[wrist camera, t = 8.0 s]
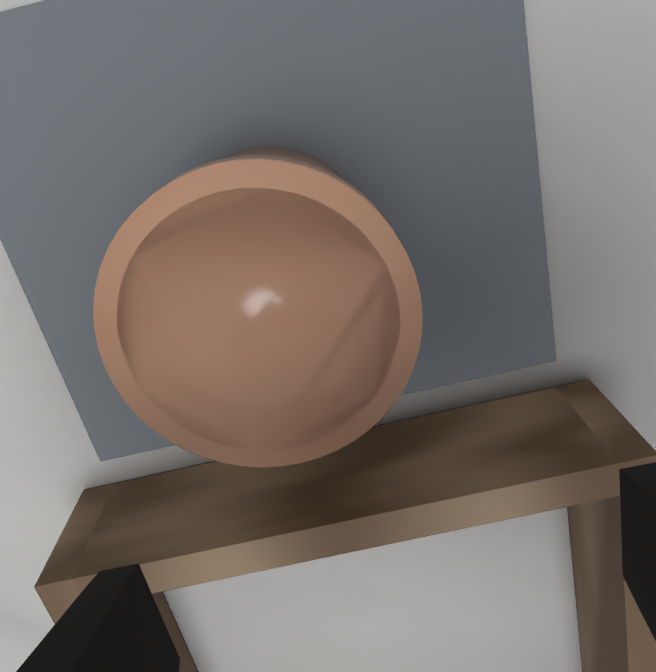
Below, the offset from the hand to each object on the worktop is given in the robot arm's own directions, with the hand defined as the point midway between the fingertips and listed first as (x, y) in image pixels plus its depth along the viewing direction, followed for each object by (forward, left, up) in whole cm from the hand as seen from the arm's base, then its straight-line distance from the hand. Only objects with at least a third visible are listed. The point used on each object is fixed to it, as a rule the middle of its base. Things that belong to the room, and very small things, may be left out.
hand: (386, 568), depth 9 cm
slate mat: (+1, -4, -9) cm, 10 cm away
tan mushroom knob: (+1, -3, -9) cm, 10 cm away
